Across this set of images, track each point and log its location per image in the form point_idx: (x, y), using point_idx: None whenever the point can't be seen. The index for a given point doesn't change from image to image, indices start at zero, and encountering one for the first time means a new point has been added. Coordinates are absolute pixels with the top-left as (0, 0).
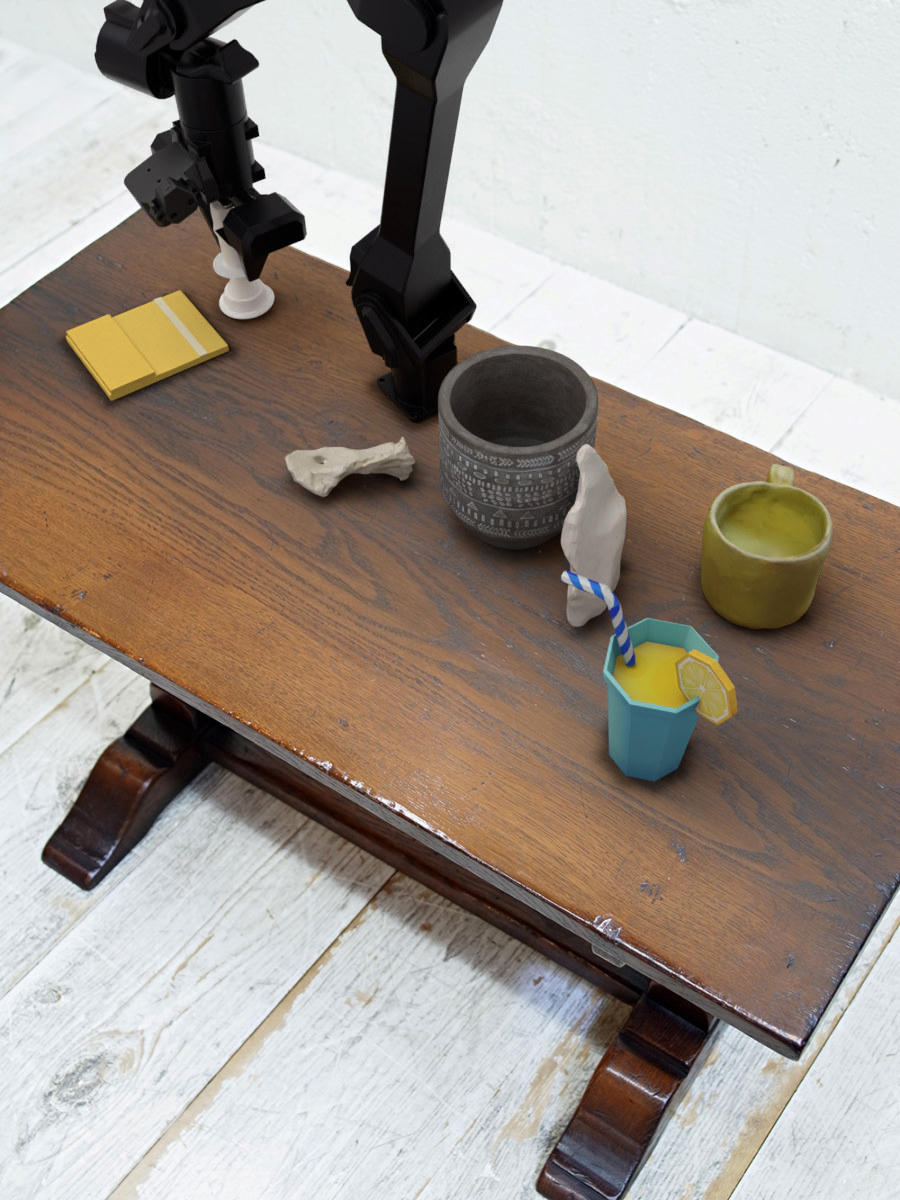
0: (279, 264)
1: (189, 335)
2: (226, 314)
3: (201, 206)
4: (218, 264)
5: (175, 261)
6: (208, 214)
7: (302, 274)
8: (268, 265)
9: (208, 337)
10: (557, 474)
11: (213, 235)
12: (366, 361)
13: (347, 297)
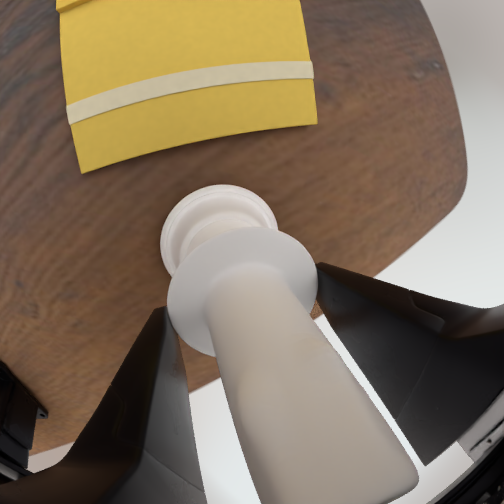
0: None
1: (146, 92)
2: (192, 192)
3: (455, 343)
4: (263, 247)
5: (393, 154)
6: (416, 334)
7: None
8: None
9: (122, 134)
10: None
11: (362, 278)
12: (39, 364)
13: None
